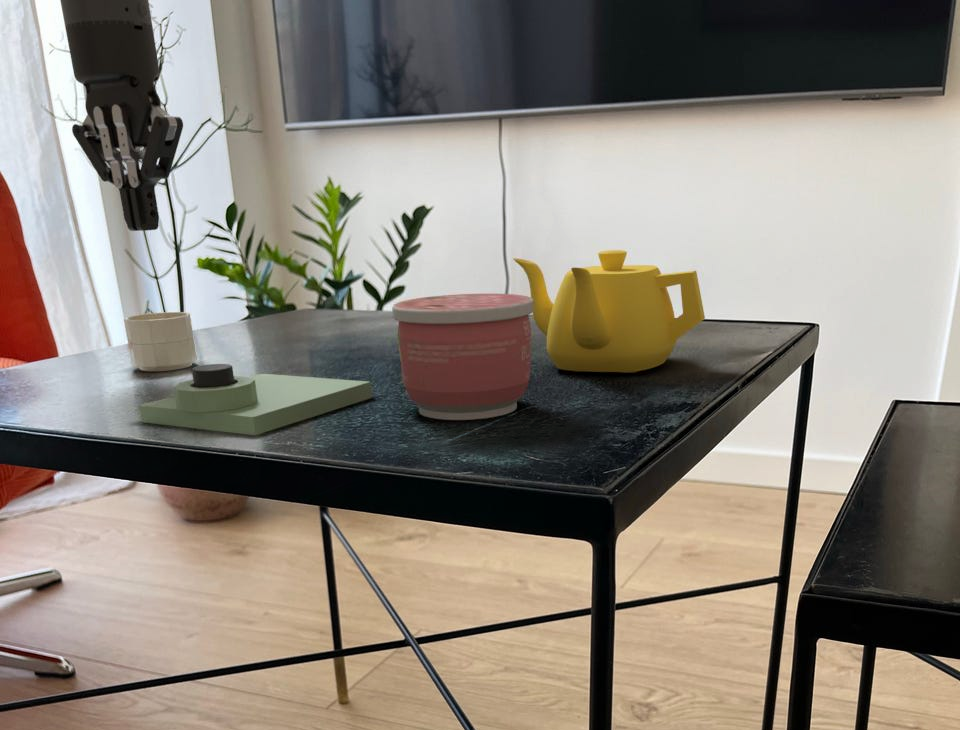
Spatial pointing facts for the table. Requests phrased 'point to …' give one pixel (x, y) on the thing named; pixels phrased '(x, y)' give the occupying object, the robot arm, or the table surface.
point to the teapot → (613, 314)
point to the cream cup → (161, 341)
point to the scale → (254, 403)
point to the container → (465, 353)
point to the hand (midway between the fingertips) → (143, 229)
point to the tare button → (213, 375)
